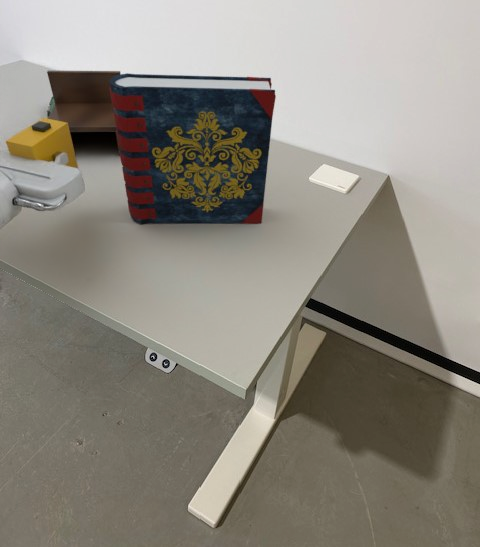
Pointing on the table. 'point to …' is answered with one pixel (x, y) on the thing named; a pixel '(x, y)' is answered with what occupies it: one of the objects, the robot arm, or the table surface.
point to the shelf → (83, 100)
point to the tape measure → (43, 141)
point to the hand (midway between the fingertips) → (47, 152)
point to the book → (193, 146)
